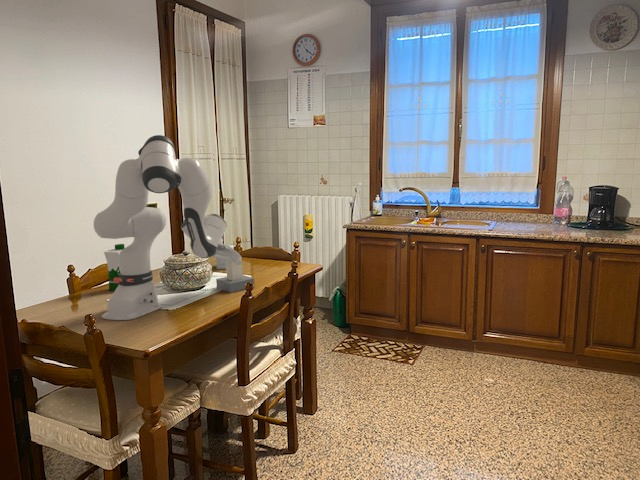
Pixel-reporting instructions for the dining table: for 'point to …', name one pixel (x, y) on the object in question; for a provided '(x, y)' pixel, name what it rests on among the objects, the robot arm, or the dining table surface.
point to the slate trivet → (233, 284)
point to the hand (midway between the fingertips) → (234, 262)
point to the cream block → (234, 270)
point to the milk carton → (113, 265)
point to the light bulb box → (222, 261)
